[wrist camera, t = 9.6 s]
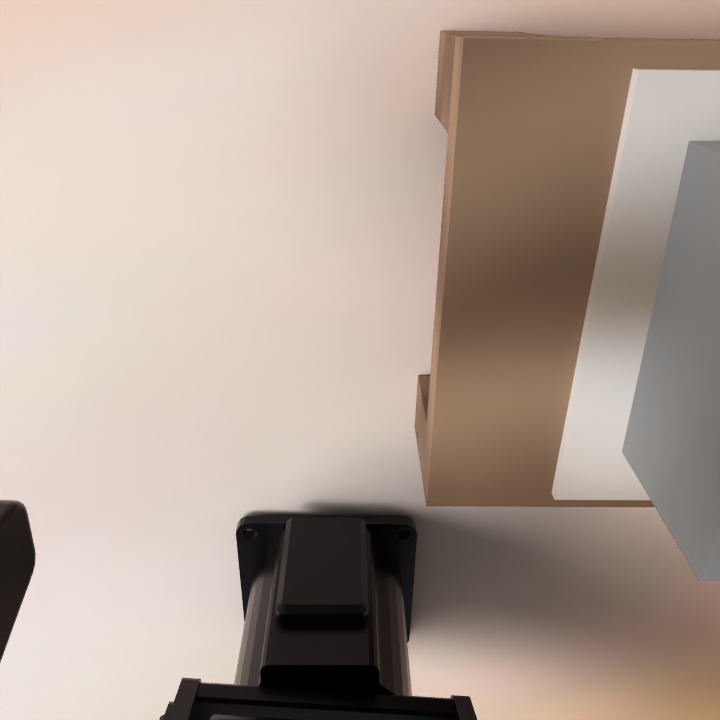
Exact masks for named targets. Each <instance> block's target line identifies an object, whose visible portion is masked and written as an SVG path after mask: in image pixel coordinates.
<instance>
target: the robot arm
mask: <svg viewBox="0 0 720 720" xmlns="http://www.w3.org/2000/svg"><path fill="white" fill-rule="evenodd" d="M246 529H253V530H255V531H253V532H251V531H248V530H246ZM402 529H405V530H407V531H406V532H398V531H399V530H402ZM236 539H237V549H238V560H239V570H240V580H241V590H242V600H243V611H244V621H245V624H244V630H243V636H242V642H241V648H240V653H239V659H238V665H237V671H236V676H235V682H234V684H219V683H203V682H201V679H193V678H182V680H181V683H180V686H179V689H178V692H177V695H176V698H175V700H174V702H169V704H168V707H167V709H166V712H165V714H164V715H163V716H161V717H160V720H477V717H476V714H475V711H474V708H473V705H472V702H471V699H470V697H469V696H454V695H451V698H435V697H420V696H412V693H411V681H410V670H409V658H408V646H407V643H408V641H409V637H410V623H411V609H412V595H413V582H414V568H415V554H416V540H417V531H416V524H415V522H414V521H413V520H412V519H411V518H409V517H404V516H246V517H244V518H242V519H241V520H240V521H239V522H238V526H237V531H236ZM34 566H35V548H34V543H33V538H32V533H31V528H30V523H29V518H28V514H27V510H26V507H25V506H24V504H23V503H21V502H19V501H13V500H0V662H1V659H2V656H3V654H4V651H5V648H6V645H7V643H8V640H9V637H10V634H11V632H12V629H13V626H14V623H15V621H16V618H17V615H18V612H19V610H20V607H21V604H22V601H23V599H24V596H25V593H26V590H27V588H28V585H29V582H30V579H31V576H32V574H33V570H34Z"/></svg>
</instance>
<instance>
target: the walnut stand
mask: <svg viewBox="0 0 720 720" xmlns="http://www.w3.org/2000/svg"><path fill="white" fill-rule="evenodd" d="M435 115H436V117H437V118H438V119H439V121H440V122H441V123H442V125H443V126H444V128H445V129H446V130H447V132H448V144H447V157H446V171H445V184H444V198H443V211H442V225H441V238H440V252H439V265H438V279H437V292H436V306H435V319H434V333H433V346H432V360H431V373H430V376H418V387H417V402H416V418H415V431H416V438H417V445H418V451H419V458H420V465H421V472H422V479H423V485H424V492H425V499H426V506H526V507H655V506H654V505H653V503H652V501H651V500H650V498H649V496H648V495H647V493H646V491H645V490H644V488H643V486H642V485H641V483H640V481H639V480H638V478H637V476H636V475H635V473H634V471H633V470H632V468H631V466H630V465H629V463H628V461H627V460H626V458H625V456H624V455H623V453H622V449H623V444H624V439H625V435H626V430H627V426H628V421H629V416H630V412H631V407H632V402H633V398H634V393H635V388H636V384H637V379H638V375H639V370H640V365H641V361H642V356H643V351H644V347H645V342H646V337H647V333H648V328H649V323H650V319H651V314H652V310H653V305H654V300H655V296H656V291H657V286H658V282H659V277H660V272H661V268H662V263H663V259H664V254H665V249H666V245H667V240H668V235H669V231H670V226H671V221H672V217H673V212H674V207H675V203H676V198H677V194H678V189H679V184H680V180H681V175H682V170H683V166H684V161H685V156H686V152H687V147H688V142H689V141H720V40H693V39H629V38H565V37H544V36H538V35H533V34H527V33H521V32H478V31H440V44H439V60H438V76H437V91H436V107H435Z"/></svg>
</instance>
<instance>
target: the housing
mask: <svg viewBox="0 0 720 720" xmlns="http://www.w3.org/2000/svg"><path fill="white" fill-rule="evenodd" d="M622 453H623V455H624V456H625V458H626V460H627V461H628V463H629V465H630V466H631V468H632V470H633V471H634V473H635V475H636V476H637V478H638V480H639V481H640V483H641V485H642V486H643V488H644V490H645V491H646V493H647V495H648V496H649V498H650V500H651V501H652V503H653V505H654V506H655V508H656V510H657V511H658V513H659V515H660V516H661V518H662V520H663V521H664V523H665V525H666V526H667V528H668V530H669V531H670V533H671V535H672V536H673V538H674V540H675V541H676V543H677V545H678V546H679V548H680V550H681V551H682V553H683V555H684V556H685V558H686V560H687V561H688V563H689V565H690V566H691V568H692V570H693V571H694V573H695V575H696V576H697V578H698V580H699V581H720V141H689V142H688V147H687V152H686V156H685V161H684V166H683V170H682V175H681V180H680V184H679V189H678V194H677V198H676V203H675V207H674V212H673V217H672V221H671V226H670V231H669V235H668V240H667V245H666V249H665V254H664V259H663V263H662V268H661V272H660V277H659V282H658V286H657V291H656V296H655V300H654V305H653V310H652V314H651V319H650V323H649V328H648V333H647V337H646V342H645V347H644V351H643V356H642V361H641V365H640V370H639V375H638V379H637V384H636V388H635V393H634V398H633V402H632V407H631V412H630V416H629V421H628V426H627V430H626V435H625V439H624V444H623V449H622Z"/></svg>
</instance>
